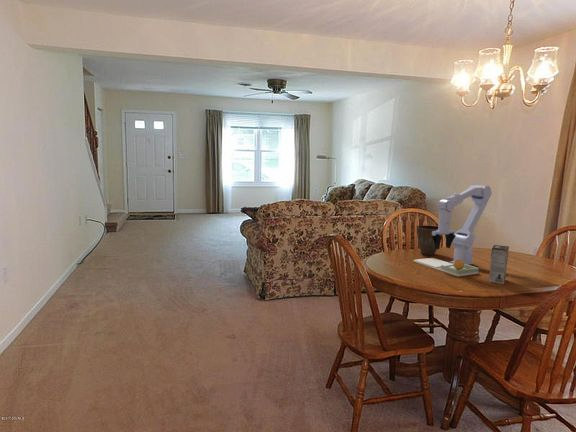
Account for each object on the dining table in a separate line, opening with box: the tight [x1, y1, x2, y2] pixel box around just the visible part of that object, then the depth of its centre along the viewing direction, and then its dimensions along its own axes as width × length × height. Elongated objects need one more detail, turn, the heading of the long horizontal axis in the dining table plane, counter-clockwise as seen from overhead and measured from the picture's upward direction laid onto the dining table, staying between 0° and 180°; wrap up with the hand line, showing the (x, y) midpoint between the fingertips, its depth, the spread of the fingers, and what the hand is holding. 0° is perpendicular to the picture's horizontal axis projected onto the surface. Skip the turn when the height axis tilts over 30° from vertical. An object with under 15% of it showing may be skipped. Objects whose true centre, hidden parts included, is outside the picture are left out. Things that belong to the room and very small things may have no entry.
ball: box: [452, 260, 464, 270], centre depth 198 cm, size 5×5×5 cm
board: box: [413, 257, 480, 277], centre depth 206 cm, size 14×30×3 cm, turn 25°
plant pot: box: [416, 224, 443, 256], centre depth 235 cm, size 15×15×16 cm
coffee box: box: [488, 244, 510, 285], centre depth 183 cm, size 9×6×16 cm
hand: (442, 248), depth 208 cm, fingers open, 7 cm apart
